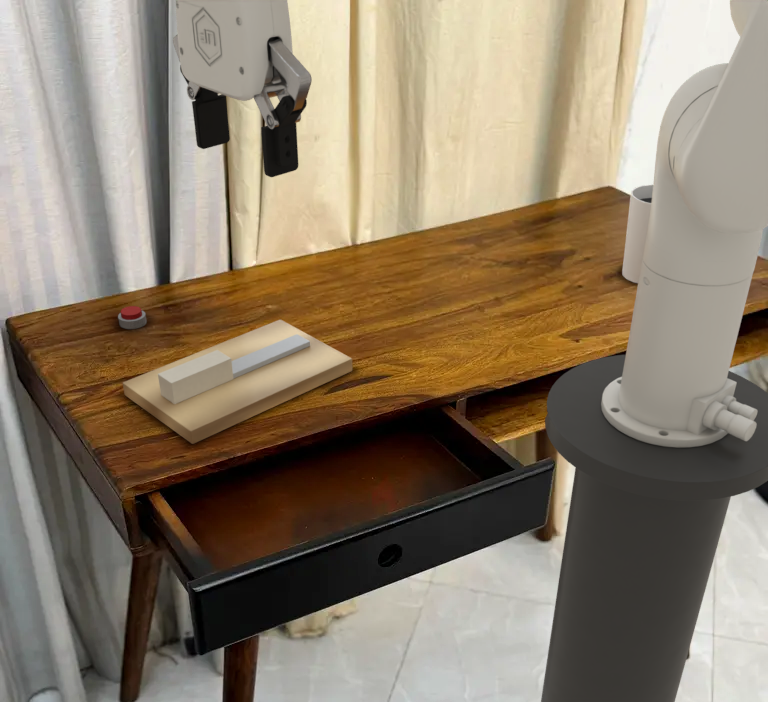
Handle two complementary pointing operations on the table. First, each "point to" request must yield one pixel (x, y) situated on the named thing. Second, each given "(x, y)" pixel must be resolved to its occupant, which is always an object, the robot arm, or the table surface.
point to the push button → (132, 317)
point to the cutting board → (241, 383)
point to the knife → (221, 369)
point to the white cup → (636, 231)
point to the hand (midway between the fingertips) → (246, 158)
